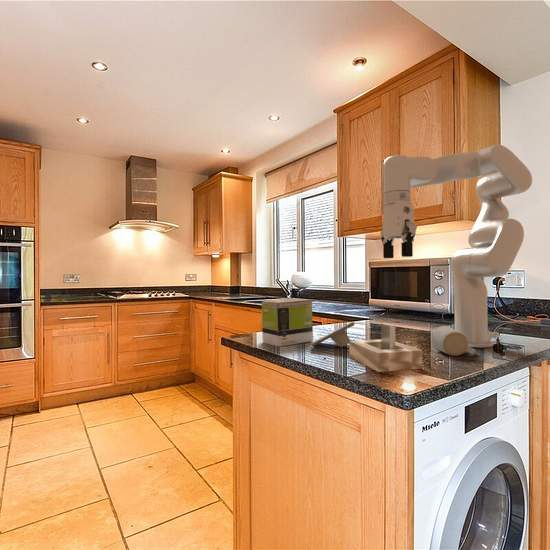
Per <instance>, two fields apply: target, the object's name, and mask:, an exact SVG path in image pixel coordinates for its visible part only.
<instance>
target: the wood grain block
mask: <svg viewBox="0 0 550 550" xmlns="http://www.w3.org/2000/svg"><path fill="white" fill-rule="evenodd" d="M380 328H381V329H380V330H381V331H380V336H381V338H380V339H381V350H390V349H395V342H396V325H395V324H391V323H386V322H384V323H383V322H382V323H380Z"/></svg>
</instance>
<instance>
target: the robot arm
mask: <svg viewBox="0 0 550 550" xmlns="http://www.w3.org/2000/svg"><path fill="white" fill-rule="evenodd" d="M480 177H482V178H480ZM477 178H480V179H479V180H478V181H477V183H476V187H475V192H476V196H477V198H478V202H479V204H480V212H479V215H478V217H477V218H476V221H475V222H474V224H473V226H472V228H471V230H470V232H469V235H468V239H467V240H468V241H467V242H468V244H469V246H470V247H466V248H462V249H458V250H457V251H455V252H454V253H453V255H452V256H451V259H450V267H451V271H452V275H453V276H452V277H453V285H454V288H453V289H454V329H455V330H457V331H459V332H461V333H462V334H463V335H464V336H465V337H466V339H467V341H468V346H469V347H471V348H477V349H478V348H481V349H482V348H491V347H493V346H494V342H493V341H492V340H491V339H499V338H500V332H499V331H492V332H491V330H489V329H488V324H489V323H488V289H487V286H486V283H485V282H484V280H483V278H498V277H502V276H505V275H506V274H507V273H508V272H509V271H510V269H511V267H512V266H513V263H514V261H515V260H516V257H517V256H518V252H519V251H520V249H521V247H522V245H523V242H524V237H525V231H524V227H523V224H522V223H521V222H520V221H519V220H518V219H515V218H509V216H510V215H509V214H510V212H509V209H508V208H507V206H506V205H505V204H504V203H503V201H502V199H501V198H503V197H510V196H514V195H519V194H523V193H525V192H527V191H528V190H529V189H530V188H531V186H532V184H533V175H532V173H531V171H530V169H529V168H528V167H527V166H526V165H525V164H524V163H523V162H522V160H520V159H519V157H518V156H517V155H515V153H514V152H513V151H512V150H510V148H508V147H506V146H504V145H503V144H497V143H496V144H493V145H490V146H487V147H485V148H481V149H479V150H475V151H465V152H459V153H449V154H445V155H442V156H439V157H436V158H434V159H433V158H431V157H429V156H406V155H400V154H398V155H392V156H389V157H387V158H386V159H384V162H383V206H384V207H383V215H382V216H383V218H382V230H381V231H380V233H379V234H380V237H381V239H380V240H381V241H382V243H381V244H382V248H383V249H382V251H383V253H382V254H383V255H382V257H383V259H394V256H395V255H394V254H395V253H394V244H393V243H394V241H395V239H398V240H400V239H401V240H402V242H401V245H400V246H401V247H400V248H401V257H403V258H405V257H406V258H409V257H410V258H412V257H413V256H414V255H413V254H414V253H413V248H414V247H413V246H414V244H413V243H414V242H415V237H416V231H417V228H418V226H417V224H415V216H414V215H415V214H414V213H415V212H414V206H413V203H412V201H411V200H412V199H411V189H414V188H415V189H416V188H420V187H426V186H431V185H432V186H433V185H440V184H447V183H451V182H458V181H463V180H464V181H465V180H471V179H477Z"/></svg>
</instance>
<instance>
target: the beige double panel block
mask: <svg viewBox="0 0 550 550" xmlns="http://www.w3.org/2000/svg"><path fill="white" fill-rule="evenodd" d="M353 326H355V322H354V321H351V322H349V323H346V324H345V325H343V326H340V327H339V328H337V329H336V330H334V331H332V332H329V333H328V334H326V335H324V336H322V337H320V338H319V339H316V340H313V341H311V343H310V345H312V346H313V347H315V346H317V345H319V344H320V343H323V342H324V341H326V340H328V339H331V340H332V341H333V342H334V343H335V344H336V345H338V346H339V347H340V348H342V347H344V346H346V345H349V341H351V340H350V337H349V336H348V333H347V332H346V330H347V329H350V328H351V327H353Z"/></svg>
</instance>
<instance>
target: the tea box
mask: <svg viewBox="0 0 550 550" xmlns="http://www.w3.org/2000/svg"><path fill="white" fill-rule="evenodd" d="M313 326H314V325H313V301H312V299H305V298H283V299H272V300H262V301H261V329H262V330H261V331H262V333H261V334H262V343H264V344H267V345H271V346H273V347H274V346H275V347H284V346H285V347H286V346H290V345H297V344H302V343H310V342H314V330H313V329H314V327H313Z"/></svg>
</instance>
